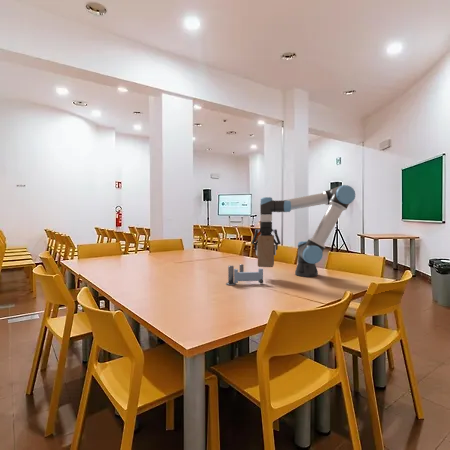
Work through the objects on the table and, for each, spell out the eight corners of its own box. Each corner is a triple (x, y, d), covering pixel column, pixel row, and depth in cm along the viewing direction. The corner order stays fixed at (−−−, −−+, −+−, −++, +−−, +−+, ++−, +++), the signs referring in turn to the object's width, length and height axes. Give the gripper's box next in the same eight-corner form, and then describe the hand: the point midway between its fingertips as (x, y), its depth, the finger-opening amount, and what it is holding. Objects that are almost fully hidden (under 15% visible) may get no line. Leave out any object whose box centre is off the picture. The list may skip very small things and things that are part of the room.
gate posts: (246, 278, 204) (246, 261, 203) (233, 285, 182) (233, 267, 182) (238, 277, 206) (238, 260, 205) (224, 284, 184) (224, 266, 184)
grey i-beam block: (262, 282, 188) (262, 268, 188) (263, 283, 185) (263, 269, 185) (234, 282, 187) (234, 268, 187) (234, 284, 184) (234, 269, 184)
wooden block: (273, 267, 195) (273, 236, 194) (257, 267, 197) (257, 235, 196) (274, 265, 205) (274, 234, 204) (258, 264, 207) (259, 234, 206)
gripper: (282, 221, 204) (282, 254, 205) (247, 221, 203) (247, 254, 204) (285, 221, 197) (285, 255, 198) (248, 221, 195) (248, 256, 196)
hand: (265, 255), depth 201 cm, fingers closed on wooden block, 11 cm apart
